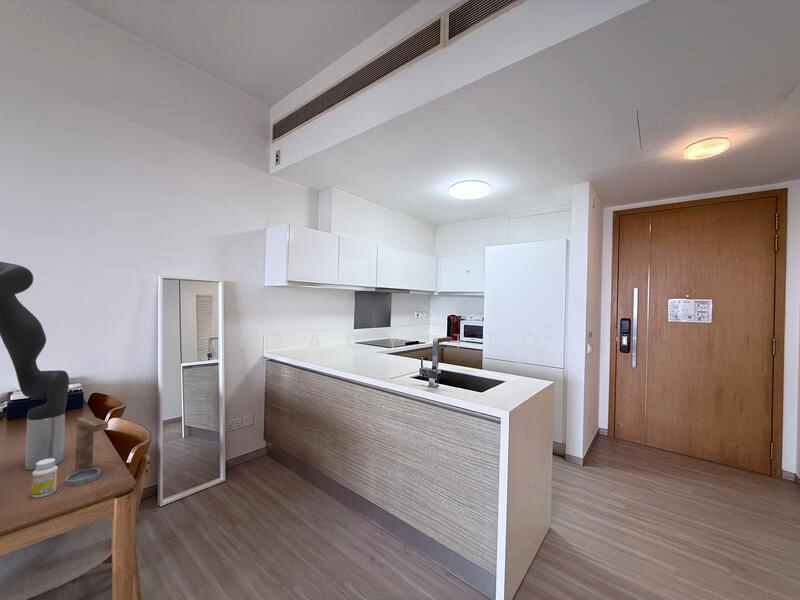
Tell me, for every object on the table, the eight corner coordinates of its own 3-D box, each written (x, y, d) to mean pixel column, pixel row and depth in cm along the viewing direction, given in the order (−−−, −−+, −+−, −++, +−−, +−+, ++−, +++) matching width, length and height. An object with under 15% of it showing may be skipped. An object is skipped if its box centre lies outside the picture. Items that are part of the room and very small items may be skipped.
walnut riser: (92, 480, 107) (94, 425, 107) (75, 470, 113) (77, 418, 113) (106, 475, 110) (108, 422, 110) (88, 466, 116) (90, 415, 116)
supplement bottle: (47, 497, 97) (48, 465, 98) (25, 498, 96) (26, 466, 97) (62, 487, 103) (63, 456, 103) (41, 488, 102) (42, 457, 102)
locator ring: (69, 476, 109) (69, 472, 109) (102, 470, 113) (103, 465, 113) (61, 488, 102) (61, 484, 102) (97, 481, 106) (97, 476, 106)
